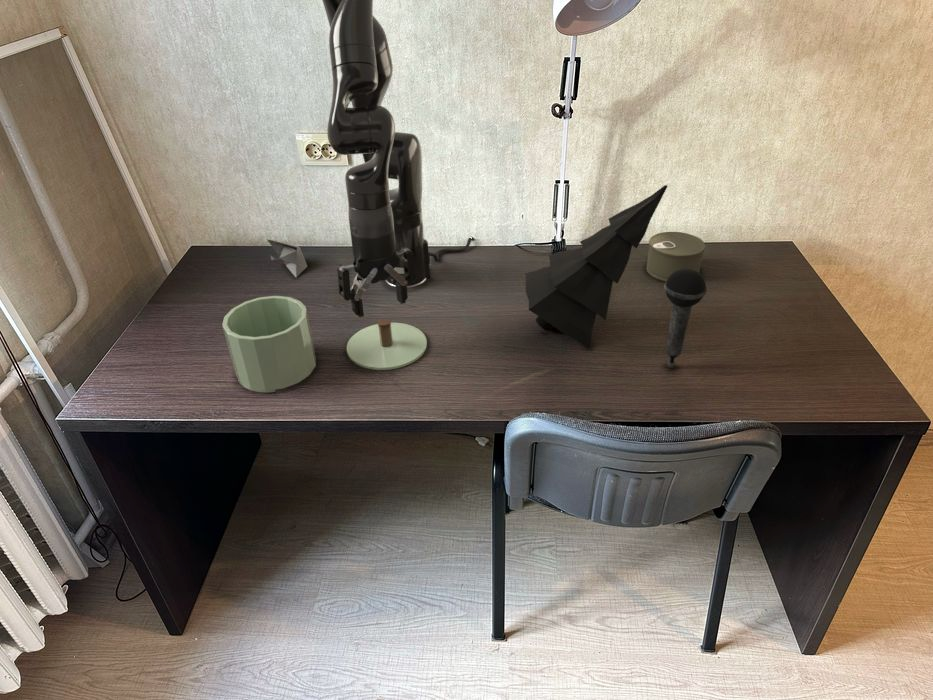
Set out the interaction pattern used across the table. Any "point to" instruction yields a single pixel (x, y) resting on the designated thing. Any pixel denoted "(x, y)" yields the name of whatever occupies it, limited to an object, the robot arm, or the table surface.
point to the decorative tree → (587, 273)
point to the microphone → (681, 306)
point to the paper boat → (289, 256)
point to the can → (673, 253)
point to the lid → (386, 345)
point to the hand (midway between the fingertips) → (380, 308)
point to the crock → (270, 343)
